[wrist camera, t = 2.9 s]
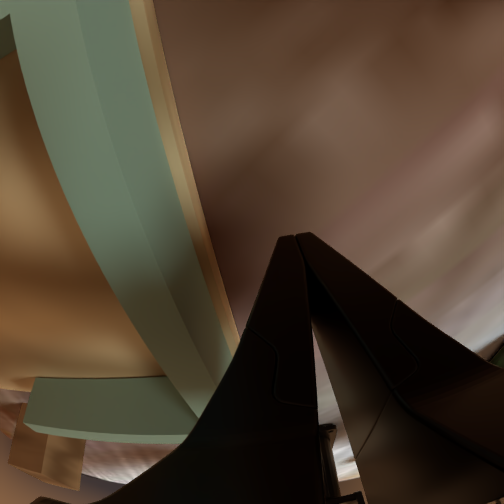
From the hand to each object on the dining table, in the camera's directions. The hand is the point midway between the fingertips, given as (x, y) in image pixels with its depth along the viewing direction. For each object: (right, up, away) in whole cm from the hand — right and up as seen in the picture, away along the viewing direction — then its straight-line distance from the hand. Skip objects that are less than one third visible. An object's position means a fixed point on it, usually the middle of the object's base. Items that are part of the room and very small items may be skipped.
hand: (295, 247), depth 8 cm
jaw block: (-18, -14, +12) cm, 26 cm away
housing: (-9, -1, +1) cm, 9 cm away
